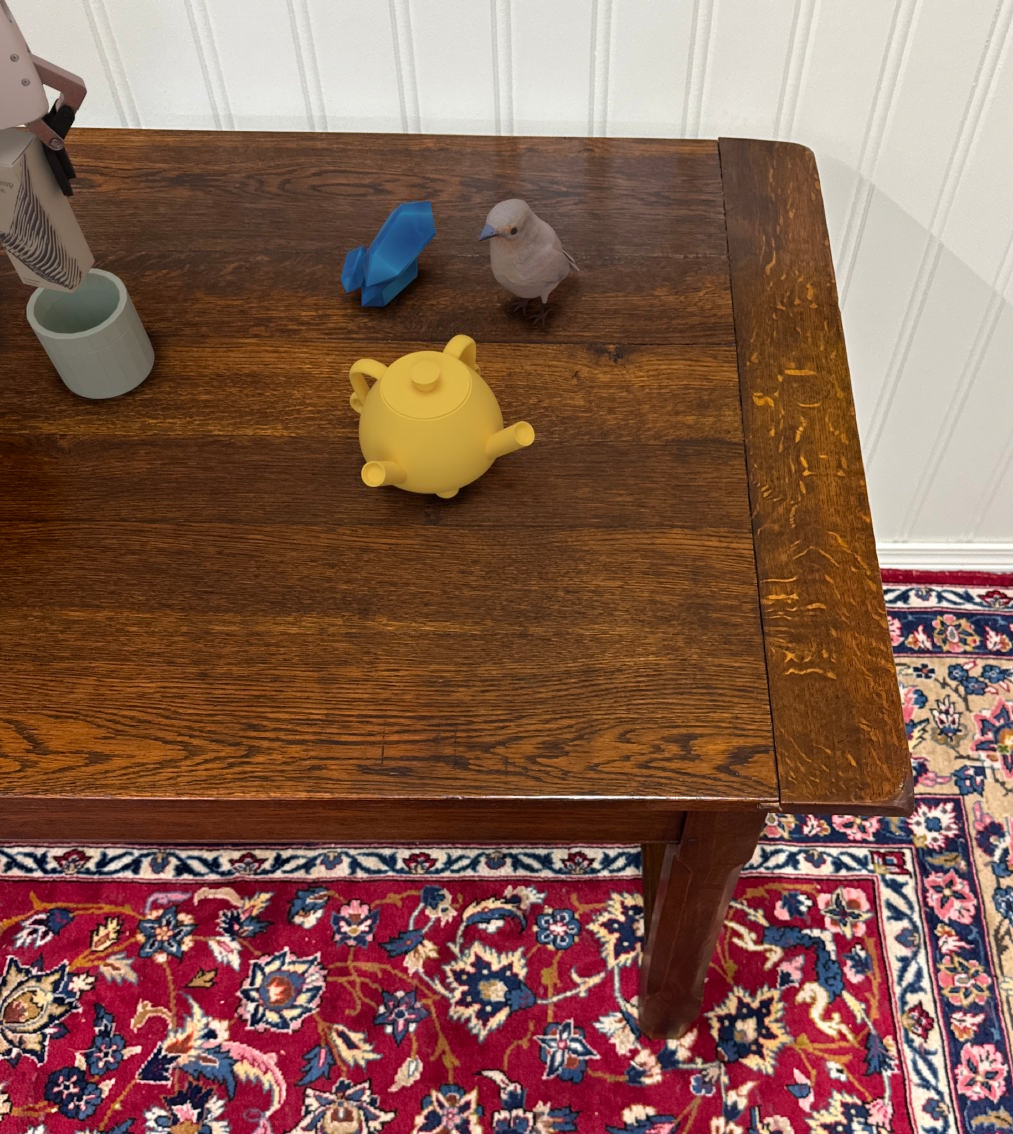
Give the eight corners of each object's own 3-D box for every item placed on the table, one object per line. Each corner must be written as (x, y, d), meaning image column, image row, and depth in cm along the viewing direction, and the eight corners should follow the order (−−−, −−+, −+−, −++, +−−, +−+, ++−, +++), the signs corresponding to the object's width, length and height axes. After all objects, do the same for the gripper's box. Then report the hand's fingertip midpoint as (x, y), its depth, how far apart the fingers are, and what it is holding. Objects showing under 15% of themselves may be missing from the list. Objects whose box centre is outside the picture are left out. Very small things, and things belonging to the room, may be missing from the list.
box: (22, 286, 85) (-54, 156, 74) (46, 251, 87) (-24, 120, 76) (78, 295, 84) (10, 166, 73) (101, 260, 86) (38, 129, 75)
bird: (464, 338, 97) (456, 212, 84) (555, 267, 102) (561, 137, 89) (501, 363, 95) (498, 239, 82) (592, 289, 100) (603, 161, 87)
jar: (63, 407, 93) (26, 347, 86) (60, 340, 97) (25, 278, 90) (158, 388, 94) (129, 327, 87) (151, 323, 98) (123, 260, 91)
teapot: (377, 542, 84) (359, 463, 75) (340, 423, 91) (320, 337, 82) (536, 498, 87) (539, 416, 77) (489, 386, 93) (486, 297, 84)
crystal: (313, 257, 93) (384, 164, 95) (340, 311, 101) (405, 223, 103) (376, 287, 91) (447, 191, 93) (399, 339, 99) (463, 250, 101)
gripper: (30, -91, 67) (121, 143, 82) (-243, -35, 64) (-94, 198, 79) (48, -36, 63) (140, 197, 79) (-240, 26, 60) (-85, 258, 75)
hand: (22, 196), depth 79 cm, fingers closed on box, 6 cm apart
